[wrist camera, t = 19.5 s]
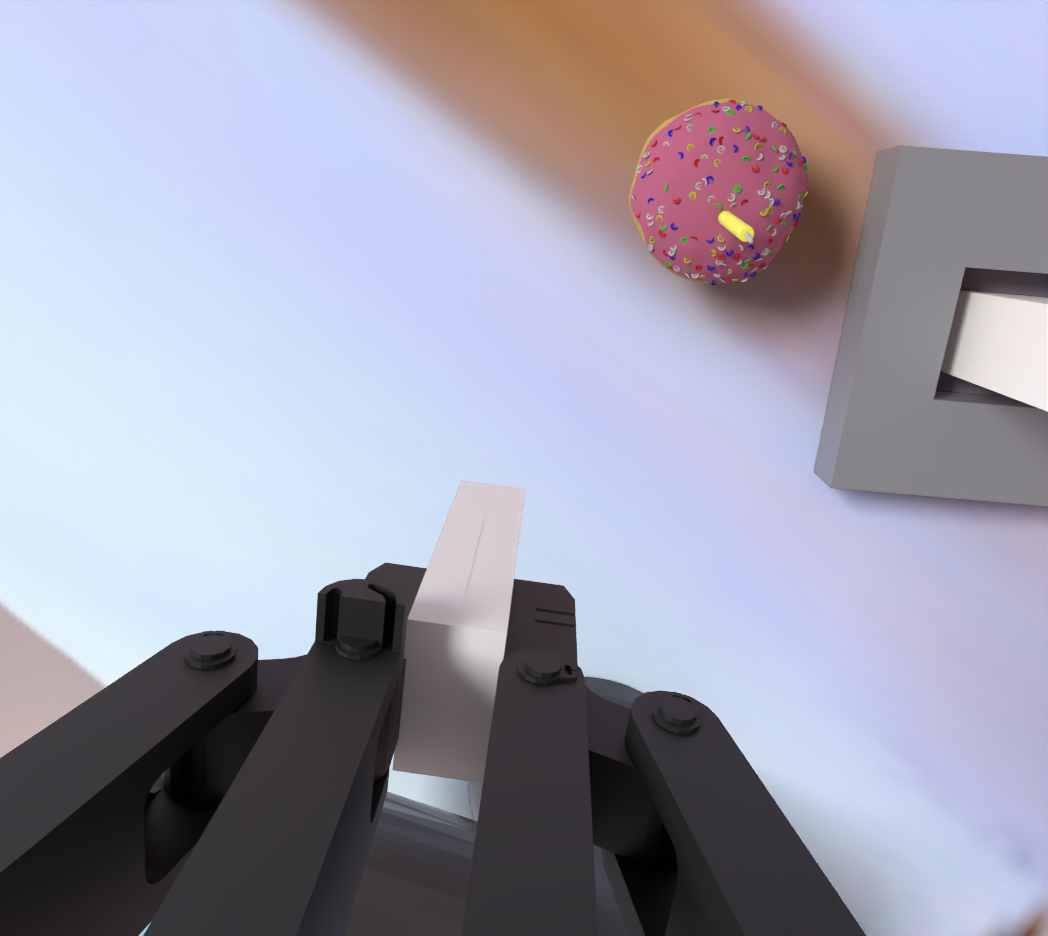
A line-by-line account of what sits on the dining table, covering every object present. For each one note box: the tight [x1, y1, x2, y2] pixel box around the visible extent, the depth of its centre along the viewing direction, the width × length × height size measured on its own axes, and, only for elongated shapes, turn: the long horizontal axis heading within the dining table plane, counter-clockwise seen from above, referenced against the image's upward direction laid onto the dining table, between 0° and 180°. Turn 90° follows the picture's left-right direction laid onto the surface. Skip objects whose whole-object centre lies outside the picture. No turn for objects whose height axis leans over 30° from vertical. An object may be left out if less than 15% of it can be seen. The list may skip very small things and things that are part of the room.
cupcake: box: [629, 99, 808, 285], centre depth 36 cm, size 9×8×12 cm
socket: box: [814, 146, 1048, 506], centre depth 42 cm, size 18×16×3 cm
